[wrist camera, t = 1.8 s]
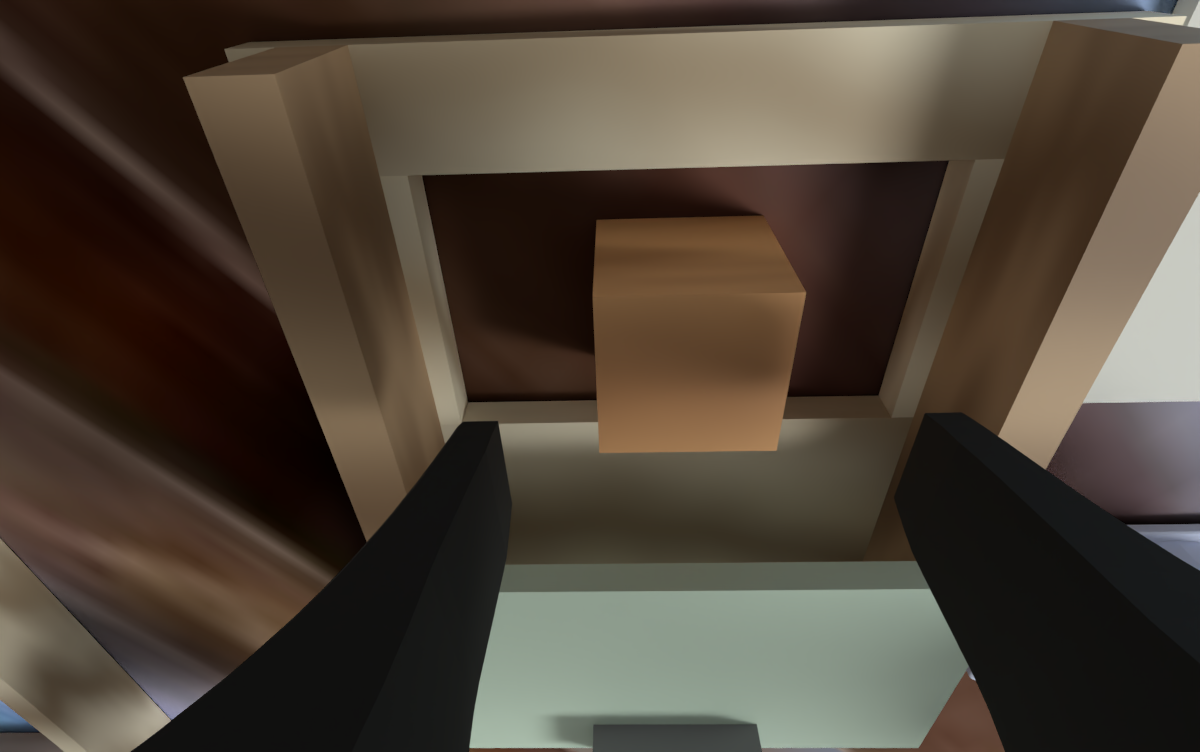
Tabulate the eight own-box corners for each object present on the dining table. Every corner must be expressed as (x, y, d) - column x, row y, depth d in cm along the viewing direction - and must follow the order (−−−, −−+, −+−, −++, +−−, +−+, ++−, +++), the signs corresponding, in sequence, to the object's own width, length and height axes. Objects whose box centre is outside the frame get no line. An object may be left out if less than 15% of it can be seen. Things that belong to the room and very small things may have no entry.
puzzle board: (892, 607, 24) (938, 716, 20) (435, 610, 24) (407, 717, 21) (1147, 10, 12) (1357, 37, 9) (249, 42, 12) (117, 79, 9)
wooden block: (744, 353, 17) (776, 450, 14) (601, 355, 17) (599, 452, 14) (762, 214, 15) (806, 292, 11) (596, 218, 15) (592, 296, 11)
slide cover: (908, 721, 20) (944, 814, 18) (438, 721, 20) (418, 812, 18) (998, 560, 15) (1062, 661, 13) (376, 565, 15) (339, 664, 13)
